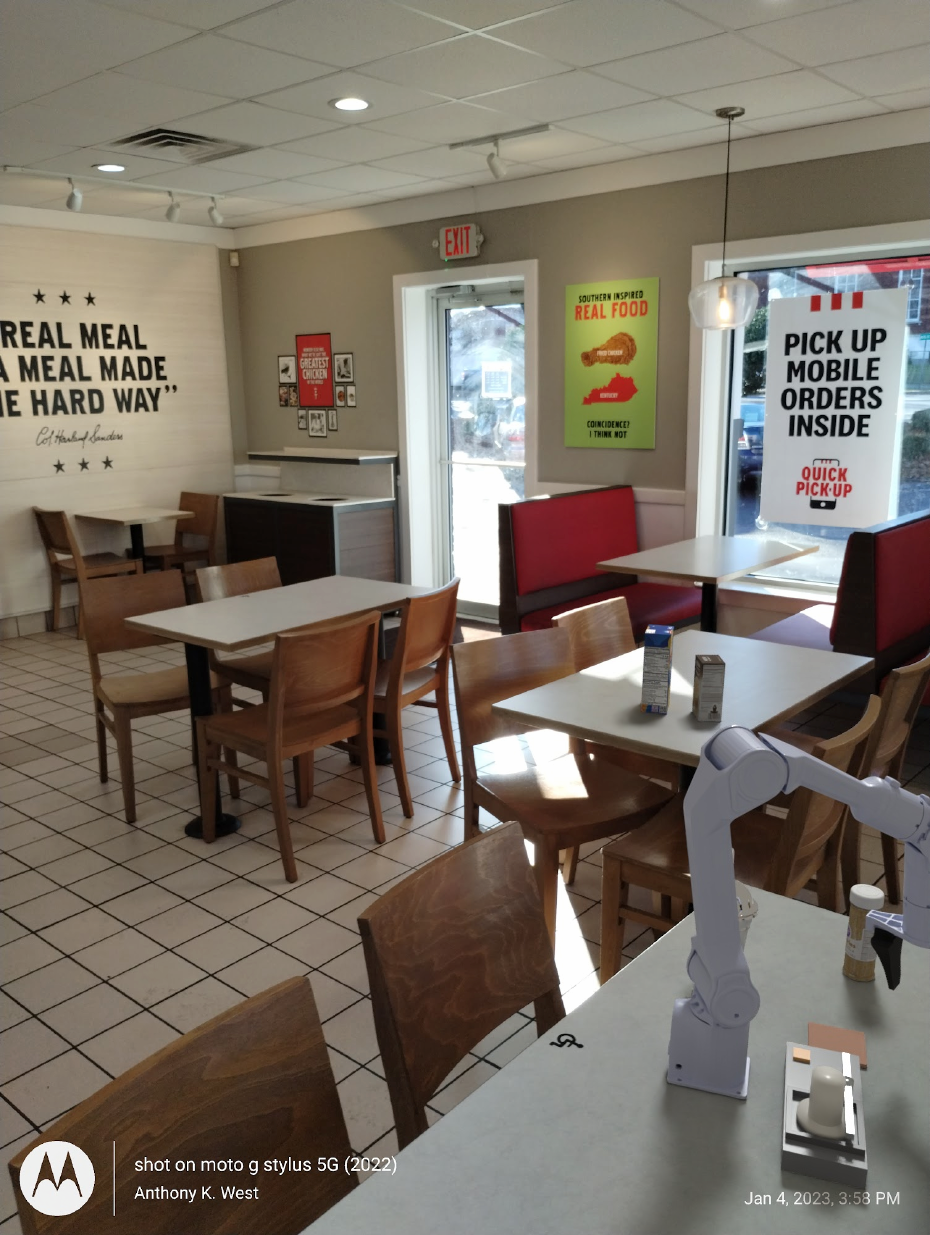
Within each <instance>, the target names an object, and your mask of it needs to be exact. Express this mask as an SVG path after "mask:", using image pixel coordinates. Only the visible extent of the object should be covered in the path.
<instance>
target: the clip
mask: <svg viewBox="0 0 930 1235" xmlns="http://www.w3.org/2000/svg"><path fill="white" fill-rule="evenodd" d="M842 1071H843V1075H844V1076H845V1078H846V1086H845V1095H844V1111H845V1132H846V1139H849V1140H853V1141H854V1119H853V1103H852V1096H853V1087H854V1080H853V1078H851V1070H850V1054H848V1053H843V1052H842Z"/></svg>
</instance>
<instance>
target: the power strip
mask: <svg viewBox="0 0 930 1235" xmlns="http://www.w3.org/2000/svg"><path fill="white" fill-rule="evenodd" d="M819 1066H828V1067H832V1068H835V1069H837V1070H838V1071H840V1072H841V1073H842V1074H843V1071H842V1052H837V1051H832V1050H827V1049H822V1048H817V1047H812V1046H808V1045H806V1044H802V1043H801V1044H800V1043H797V1042H791V1041H786V1046H785V1056H784V1079H783V1105H782V1106H783V1107H782V1108H783V1110H782V1132H781V1133H782V1135H781V1158H780V1159H781V1162H780V1164H781V1165H780V1170H781V1171H785V1172H789V1173H794V1174H799V1175H801V1176H806V1177H809V1178H815V1179H818V1180H823V1181H825V1182H826V1181H828V1182H832V1183H836V1184H839V1185H840V1184H841V1185H844V1186H848V1187H851V1188H857V1189H861V1190H865V1191H866V1187H867V1179H868V1170H869V1169H868V1167H869V1166H868V1157H867V1142H866V1130H865V1117H864V1103H863V1102H864V1101H863V1090H862V1089H863V1088H862V1078H861V1075H862V1074H861V1067H860V1062H859V1056H857V1055H852V1054H850V1070H851V1078H853V1080H854V1087H853V1096H852V1103H853V1119H854V1141H853V1140H849V1139H845V1140H843V1141H839V1140H835V1139H830V1138H826V1137H821V1136H817V1135H813V1134H808V1133H807V1132H805V1131H804V1130H803V1129H802V1128H801V1127H800V1125H799V1124H798V1122H797V1119H796V1112H797V1106H798V1104H799V1103H800V1102H801V1101H802V1100H804V1099H806V1098H809V1096H810V1087H811V1077H812V1070H813V1069H814V1068H816V1067H819ZM843 1107H844V1104H843Z"/></svg>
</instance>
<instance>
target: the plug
mask: <svg viewBox="0 0 930 1235" xmlns="http://www.w3.org/2000/svg"><path fill="white" fill-rule="evenodd" d="M845 1086H846V1078H845V1076H844V1075H843V1074H842V1073H841V1072H840V1071H838V1070H837V1069H835V1068H832V1067H828V1066H819V1067H816V1068H814V1069H813V1070H812V1077H811V1087H810V1096H809V1098H806V1099H804V1100H802V1101H801V1102H800V1103H799V1104H798V1106H797V1112H796V1119H797V1122H798V1124H799V1125H800V1127H801V1128H802V1129H803V1130H804V1131H805V1132H807V1133H808V1134H813V1135H817V1136H821V1137H826V1138H830V1139H835V1140H839V1141H843V1140H845V1139H846V1132H845V1111H844V1107H843V1104H844V1095H845Z"/></svg>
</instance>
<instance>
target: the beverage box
mask: <svg viewBox="0 0 930 1235" xmlns="http://www.w3.org/2000/svg"><path fill="white" fill-rule="evenodd" d="M674 632H675V626H674V625H673V626H672V625H662V624H661V625H660V624H648V625H647V628H646V630H645V632H644V645H643V646H644V647H643V663H642V664H643V666H642V681H641V683H642V685H641V703H640V713H646V714H647V713H648V714H656V715H657V714H658V715H666V716H667V714H668V711H669V708H670V707H669V706H670V701H671V700H670V699H671V683H672V682H671V681H672V669H673V668H672V666H673V649H674V634H675V633H674Z"/></svg>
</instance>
